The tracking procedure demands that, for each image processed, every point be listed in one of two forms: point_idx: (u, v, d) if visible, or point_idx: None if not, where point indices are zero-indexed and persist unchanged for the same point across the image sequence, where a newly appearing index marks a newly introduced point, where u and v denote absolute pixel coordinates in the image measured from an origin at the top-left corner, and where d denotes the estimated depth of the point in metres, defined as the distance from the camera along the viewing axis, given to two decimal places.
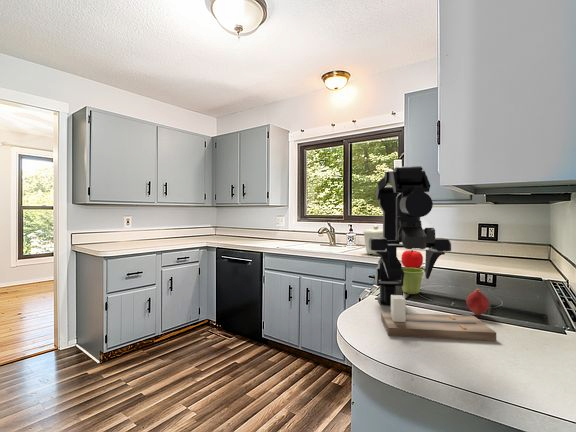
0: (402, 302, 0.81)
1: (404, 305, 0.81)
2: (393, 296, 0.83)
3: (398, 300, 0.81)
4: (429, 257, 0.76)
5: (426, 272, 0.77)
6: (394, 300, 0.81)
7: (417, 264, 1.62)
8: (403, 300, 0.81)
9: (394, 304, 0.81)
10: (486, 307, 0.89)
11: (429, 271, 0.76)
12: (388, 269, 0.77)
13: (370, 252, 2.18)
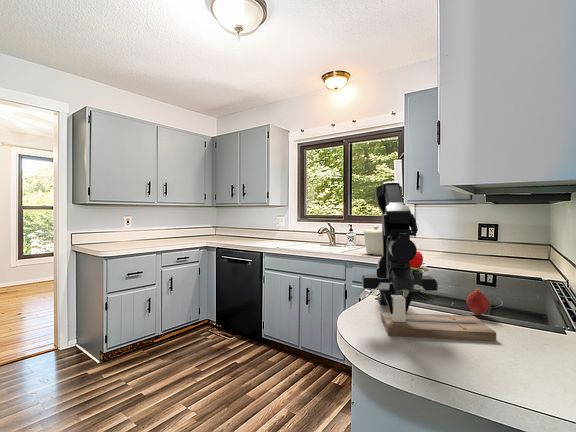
0: (402, 302, 0.81)
1: (404, 305, 0.81)
2: (393, 296, 0.83)
3: (398, 300, 0.81)
4: (406, 294, 0.82)
5: None
6: (394, 300, 0.81)
7: (417, 264, 1.62)
8: (403, 300, 0.81)
9: (394, 304, 0.81)
10: (486, 307, 0.89)
11: (406, 307, 0.82)
12: (391, 306, 0.82)
13: (370, 252, 2.18)
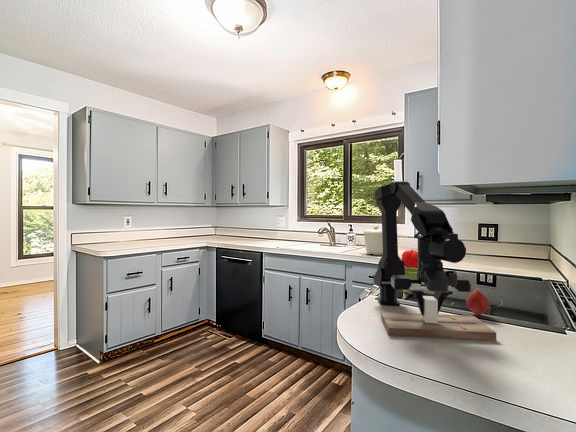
0: (434, 303, 0.79)
1: (436, 306, 0.79)
2: (424, 297, 0.82)
3: (430, 301, 0.80)
4: (438, 295, 0.81)
5: None
6: (426, 301, 0.80)
7: (417, 264, 1.62)
8: (435, 301, 0.79)
9: (426, 305, 0.80)
10: (486, 307, 0.89)
11: (438, 309, 0.80)
12: (422, 307, 0.81)
13: (370, 252, 2.18)
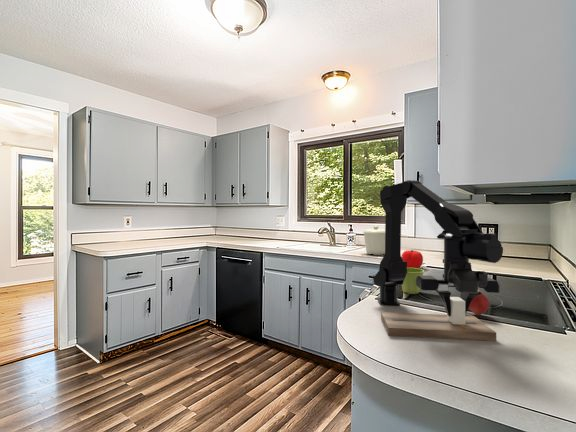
0: (462, 304, 0.79)
1: (464, 307, 0.78)
2: (451, 298, 0.81)
3: (458, 302, 0.79)
4: (465, 296, 0.80)
5: None
6: (453, 302, 0.79)
7: (417, 264, 1.62)
8: (463, 302, 0.78)
9: (453, 306, 0.79)
10: (486, 307, 0.89)
11: (465, 310, 0.79)
12: (449, 308, 0.80)
13: (370, 252, 2.18)
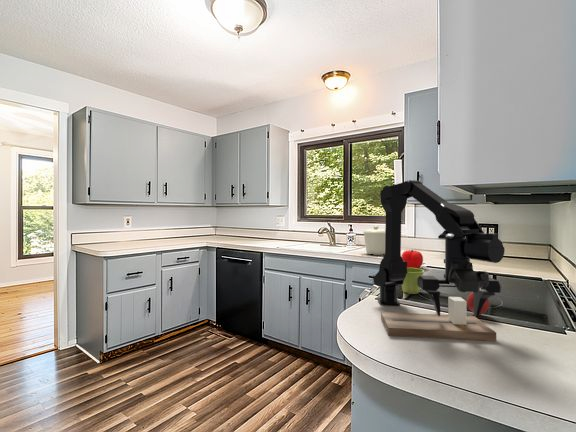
0: (463, 304, 0.78)
1: (465, 307, 0.78)
2: (452, 298, 0.81)
3: (459, 302, 0.79)
4: (478, 297, 0.79)
5: (475, 310, 0.80)
6: (454, 302, 0.79)
7: (417, 264, 1.62)
8: (464, 302, 0.78)
9: (454, 306, 0.79)
10: (486, 307, 0.89)
11: (478, 310, 0.79)
12: (438, 308, 0.80)
13: (370, 252, 2.18)
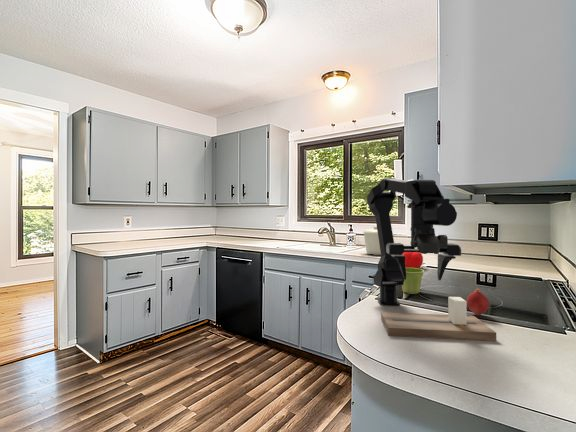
0: (463, 304, 0.78)
1: (465, 307, 0.78)
2: (452, 298, 0.81)
3: (459, 302, 0.79)
4: (441, 261, 0.85)
5: (438, 274, 0.86)
6: (454, 302, 0.79)
7: (417, 264, 1.62)
8: (464, 302, 0.78)
9: (454, 306, 0.79)
10: (486, 307, 0.89)
11: (441, 273, 0.85)
12: (404, 271, 0.86)
13: (370, 252, 2.18)
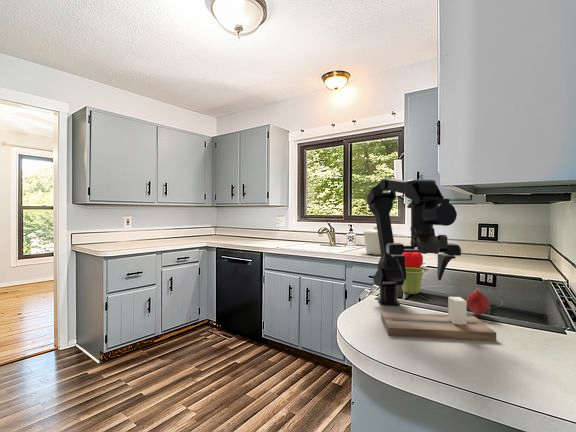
0: (463, 304, 0.78)
1: (465, 307, 0.78)
2: (452, 298, 0.81)
3: (459, 302, 0.79)
4: (441, 261, 0.85)
5: (438, 274, 0.86)
6: (454, 302, 0.79)
7: (417, 264, 1.62)
8: (464, 302, 0.78)
9: (454, 306, 0.79)
10: (486, 307, 0.89)
11: (441, 273, 0.85)
12: (404, 271, 0.86)
13: (370, 252, 2.18)
